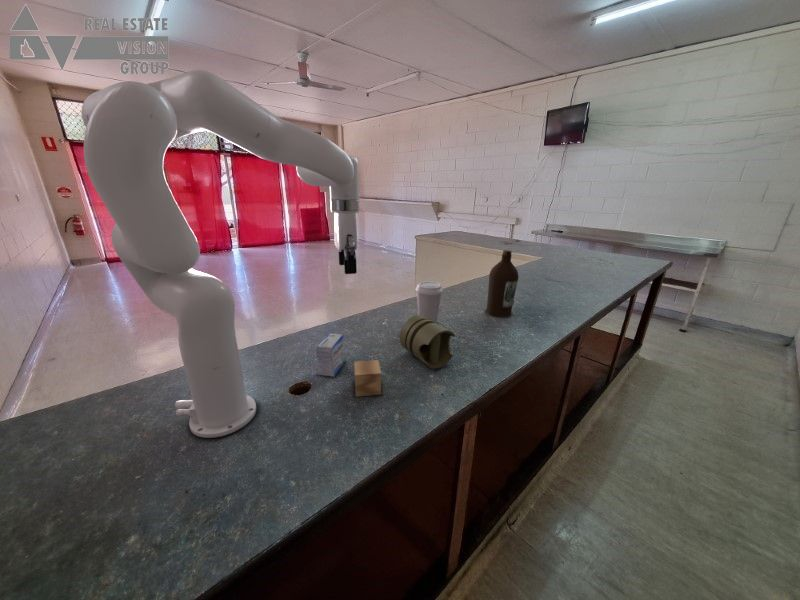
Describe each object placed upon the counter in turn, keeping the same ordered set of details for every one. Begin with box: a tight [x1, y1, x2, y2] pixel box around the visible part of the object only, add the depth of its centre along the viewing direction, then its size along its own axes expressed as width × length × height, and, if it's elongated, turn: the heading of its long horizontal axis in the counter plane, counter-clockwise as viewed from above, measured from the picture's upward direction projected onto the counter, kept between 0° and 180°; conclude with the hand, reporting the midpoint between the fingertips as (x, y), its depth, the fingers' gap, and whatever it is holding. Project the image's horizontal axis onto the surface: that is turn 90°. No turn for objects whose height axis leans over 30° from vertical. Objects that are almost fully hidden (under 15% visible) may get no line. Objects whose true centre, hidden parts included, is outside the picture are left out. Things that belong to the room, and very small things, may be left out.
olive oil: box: [485, 249, 519, 318], centre depth 122 cm, size 11×11×25 cm
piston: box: [399, 314, 456, 370], centre depth 90 cm, size 11×12×11 cm
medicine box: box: [315, 333, 345, 378], centre depth 84 cm, size 8×4×9 cm, turn 168°
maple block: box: [353, 359, 382, 397], centre depth 77 cm, size 6×6×6 cm
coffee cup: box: [415, 280, 444, 324], centre depth 112 cm, size 10×10×15 cm
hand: (347, 269), depth 90 cm, fingers open, 9 cm apart
